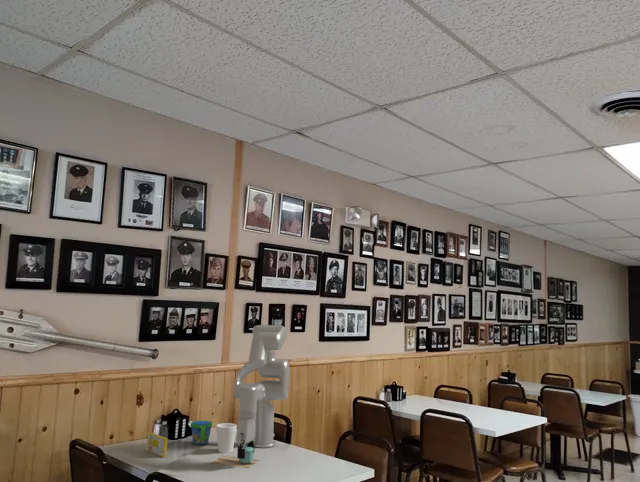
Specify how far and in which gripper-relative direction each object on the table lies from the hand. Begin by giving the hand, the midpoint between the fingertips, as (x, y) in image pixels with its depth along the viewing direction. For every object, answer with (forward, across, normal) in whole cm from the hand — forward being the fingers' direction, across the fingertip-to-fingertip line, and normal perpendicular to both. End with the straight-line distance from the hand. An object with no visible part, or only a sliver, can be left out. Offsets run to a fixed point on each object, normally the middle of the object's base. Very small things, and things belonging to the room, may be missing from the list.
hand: (245, 455), depth 228 cm
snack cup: (+4, -26, -37) cm, 46 cm away
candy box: (+5, -3, -47) cm, 47 cm away
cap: (+2, 0, 0) cm, 2 cm away
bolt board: (+5, 0, -5) cm, 7 cm away
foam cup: (+5, -14, -17) cm, 23 cm away
